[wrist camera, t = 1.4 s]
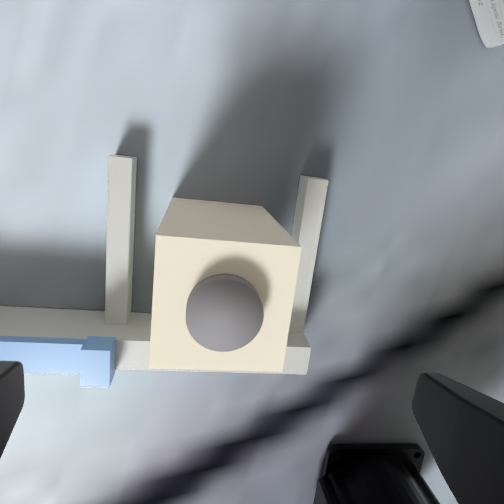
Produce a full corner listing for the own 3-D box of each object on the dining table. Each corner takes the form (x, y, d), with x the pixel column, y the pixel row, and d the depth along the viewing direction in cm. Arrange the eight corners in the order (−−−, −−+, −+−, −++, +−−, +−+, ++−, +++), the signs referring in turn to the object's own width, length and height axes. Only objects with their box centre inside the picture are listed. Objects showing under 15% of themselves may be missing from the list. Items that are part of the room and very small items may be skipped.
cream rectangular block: (261, 206, 20) (306, 252, 12) (251, 288, 21) (286, 382, 13) (172, 197, 19) (153, 239, 11) (167, 282, 20) (146, 379, 12)
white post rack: (319, 177, 20) (349, 186, 16) (292, 346, 22) (312, 391, 18) (-102, 130, 17) (-195, 127, 13) (-79, 332, 19) (-151, 382, 15)
